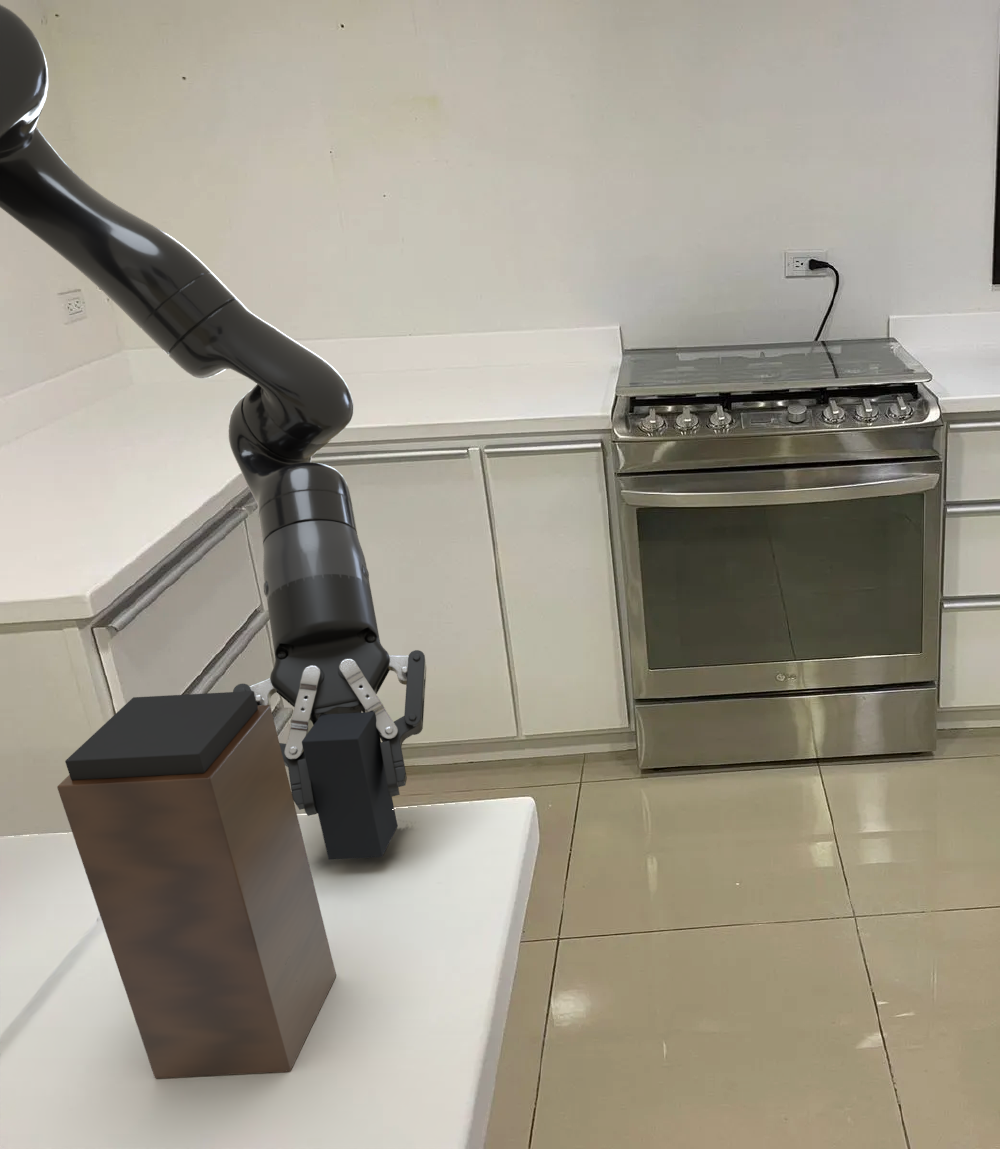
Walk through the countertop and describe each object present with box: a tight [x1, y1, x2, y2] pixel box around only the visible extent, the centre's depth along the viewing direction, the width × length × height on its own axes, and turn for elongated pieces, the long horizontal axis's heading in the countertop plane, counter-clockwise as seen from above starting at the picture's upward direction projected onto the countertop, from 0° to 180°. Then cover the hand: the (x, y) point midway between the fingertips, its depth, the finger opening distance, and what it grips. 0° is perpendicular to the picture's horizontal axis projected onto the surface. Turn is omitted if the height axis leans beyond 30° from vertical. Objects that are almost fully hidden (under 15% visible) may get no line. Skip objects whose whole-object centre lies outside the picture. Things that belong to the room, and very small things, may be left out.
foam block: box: [302, 712, 398, 861], centre depth 82 cm, size 4×4×10 cm
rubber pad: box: [64, 691, 258, 780], centre depth 61 cm, size 7×7×1 cm
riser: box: [56, 705, 337, 1079], centre depth 65 cm, size 8×8×20 cm
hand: (352, 802), depth 81 cm, fingers closed on foam block, 5 cm apart
